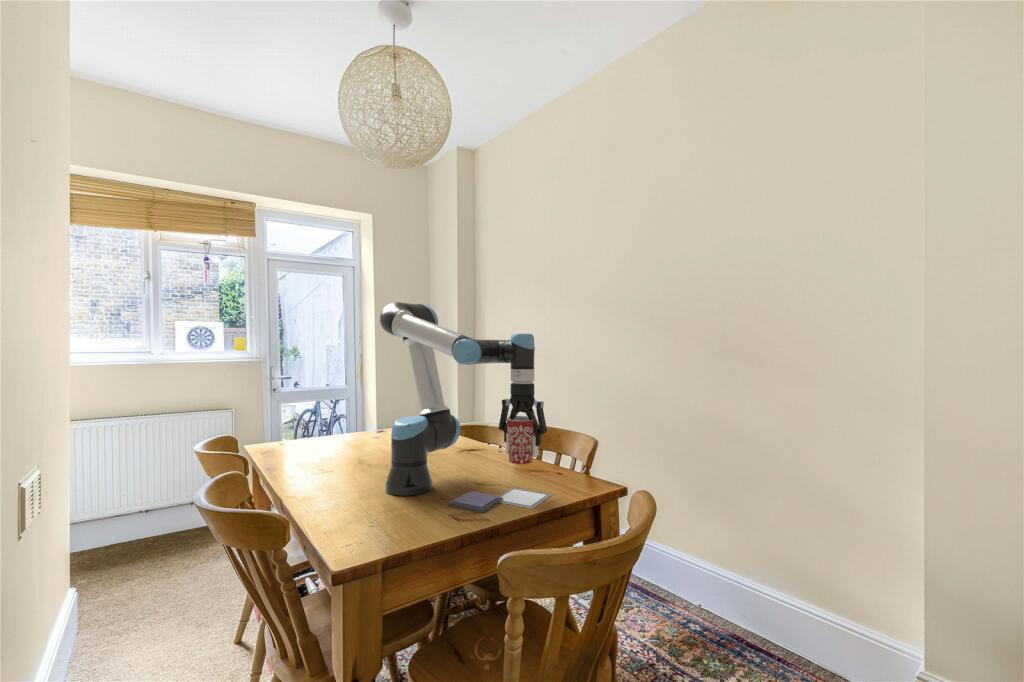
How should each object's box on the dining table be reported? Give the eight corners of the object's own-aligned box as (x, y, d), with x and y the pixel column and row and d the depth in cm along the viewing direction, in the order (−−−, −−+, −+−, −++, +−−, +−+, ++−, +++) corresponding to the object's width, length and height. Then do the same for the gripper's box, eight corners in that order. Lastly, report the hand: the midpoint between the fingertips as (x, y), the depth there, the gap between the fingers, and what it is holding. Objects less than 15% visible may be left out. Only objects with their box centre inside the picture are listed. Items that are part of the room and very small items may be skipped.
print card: (491, 501, 142) (491, 499, 142) (512, 488, 155) (512, 487, 155) (532, 508, 136) (532, 507, 136) (551, 495, 148) (551, 494, 148)
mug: (536, 465, 139) (536, 420, 139) (506, 465, 139) (506, 420, 139) (533, 455, 152) (533, 414, 152) (505, 455, 152) (505, 414, 152)
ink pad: (448, 505, 138) (448, 501, 138) (470, 494, 148) (470, 490, 148) (482, 513, 132) (482, 508, 132) (502, 500, 143) (502, 496, 143)
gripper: (487, 381, 147) (487, 453, 147) (548, 384, 137) (548, 461, 137) (499, 380, 154) (498, 448, 154) (558, 383, 144) (558, 455, 144)
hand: (522, 454), depth 145 cm, fingers closed on mug, 8 cm apart
